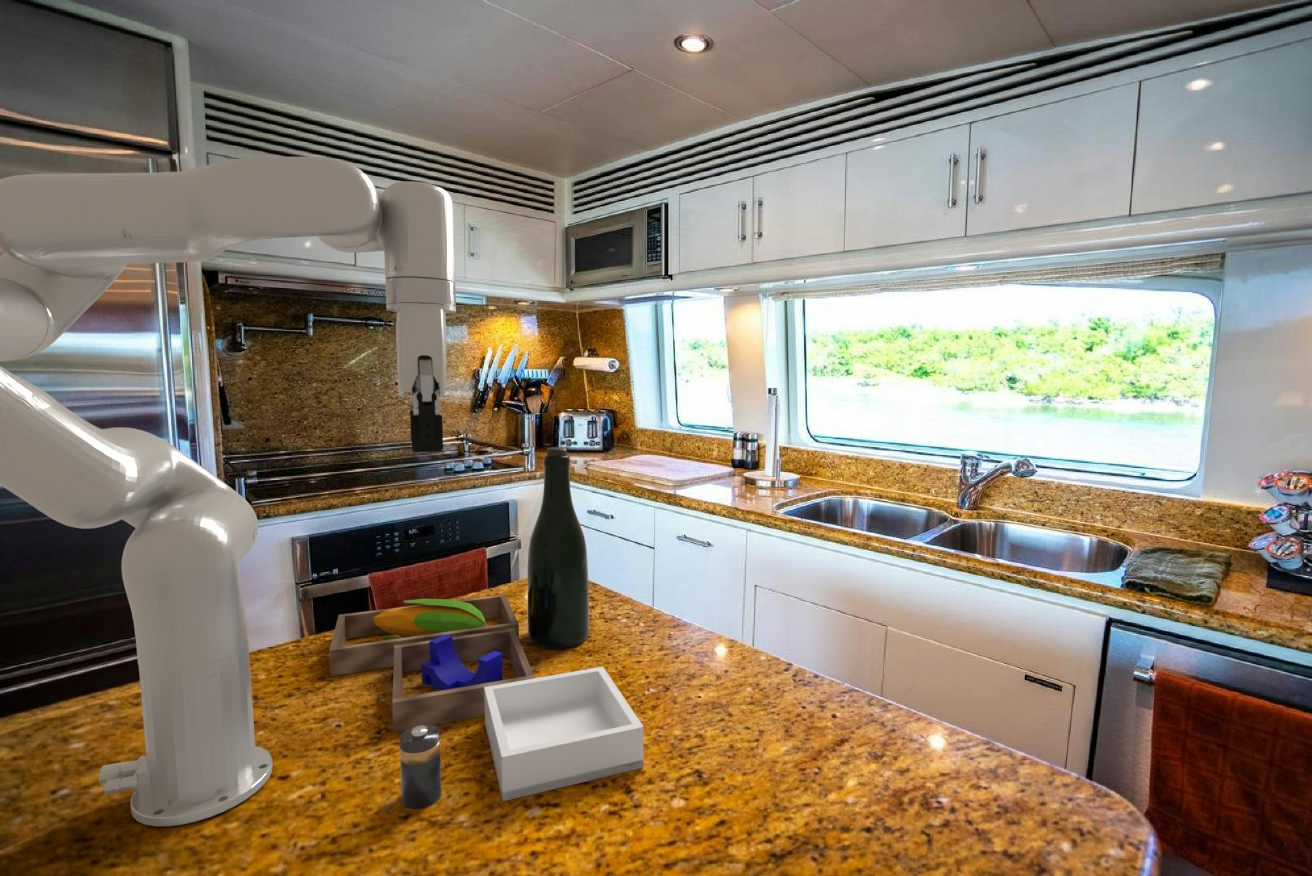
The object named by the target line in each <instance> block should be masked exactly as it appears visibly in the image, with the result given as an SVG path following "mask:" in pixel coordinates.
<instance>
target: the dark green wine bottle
mask: <svg viewBox="0 0 1312 876" xmlns="http://www.w3.org/2000/svg"><path fill="white" fill-rule="evenodd" d="M545 452H546V454H545V455H544V456H543V461H542V463H543V493H542V494H543V495H542V500H541V501H542V502H541V505H540V510H539V512H538V516H537V518H536V519H537V520H536V521H535V525H534V527H533V530H532V532H531V535H530V537H529V544H528V551H527V583H526V584H527V595H526V596H527V599H526V600H527V601H526V602H527V604H526V605H527V606H526V607H527V613H526V614H527V615H526V617H527V618H526V619H527V620H526V623H527V637H528V639H529V641H530V642H531V643H532V644H533V645H536V646H538V647H540V648H544V649H551V650H552V649H553V650H554V649H566V648H569V647H573V646H577V645H578V644H581V643H583V642H585V640H586V639H587V638H588V636H589V634H590V604H589V603H590V602H589V594H590V593H589V568H588V566H589V565H588V564H589V563H588V562H589V561H588V549H587V543H586V538H585V534H584V531H583V529H582V527H581V524H580V521H579V519H578V518H579V517H578V516H577V513H576V511H575V507H574V503H573V500H572V498H573V497H572V494H571V493H572V492H571V480H570V479H571V477H570V475H571V473H570V465H571V459H570V456H569V455H568V453H567V452H568V451H567V448H566V447H560V446H559V447H558V446H555V447H554V446H553V447H548V448H546V451H545Z"/></svg>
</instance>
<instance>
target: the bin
mask: <svg viewBox="0 0 1312 876" xmlns="http://www.w3.org/2000/svg"><path fill="white" fill-rule="evenodd" d="M484 704H485V716H484V725H485V729H486V735H487V739H488V742H489V743H488V744H489V747H490V751H491V756H492V760H493V765H494V769H495V774H496V777H497V783H498V788H499V790H500V796H501V799H502V802H506V801H510V800H515V799H517V798H518V799H519V798H523V797H527V796H531V795H535V794H536V795H537V794H539V793H545V792H548V791H552V790H556V789H560V788H564V787H568V786H572V785H576V784H580V783H581V784H582V783H585V782H589V781H594V780H598V779H602V778H606V777H609V776H615V775H618V774H622V773H627V772H632V771H635V770H640V769H643V768H644V738H645V737H644V732H645V731H644V729H645V728H644V725H643V724H642V722H641V721H640V720H639V718H638V716H637V715H636V714H635V712H634V711H633V709H632V707H631V706H630V705H629V703H628V702H627V700H626V699H625V697H624V696H623V694H622V693H621V691H620V689H619V688H618V687H617V686H616V684H615V682H614V681H613V679H612V677H610V675H609V673H608V672H607V670H606V669H605V667H604V666H599V667H598V666H597V667H593V668H588V669H581V670H575V671H569V672H564V673H563V672H562V673H559V674H554V675H545V676H542V677H541V676H540V677H537V678H536V677H535V678H534V679H529V680H523V681H517V682H511V683H505V684H500V685H494V686H488V687H484Z"/></svg>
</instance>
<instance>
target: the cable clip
mask: <svg viewBox="0 0 1312 876" xmlns="http://www.w3.org/2000/svg"><path fill="white" fill-rule="evenodd" d="M429 648H430V661H428V662H426V663H424V664H422V665H421V668H422V669H421V683H422V684H424V685H426V686H428V687H431V688H434V689H436V690H437V691H443V690H449V689H455V688H461V687H467V686H472V685H478V684H484V683H490V682H496V681H502V680H504V679H503V675H504V674H503V673H504V672H503V657H502V653H500V652H497V651H493V652H491V653H489V654H487V655H485V656H483V657H481V658H479V660H478V665H477V669H476V672H473V671H471V670H470V669H468V668H467V667H466V666H465V665H464V663H461V661H460V660H459V658H458V656H457V654H456V652H455V649H454V645H453V638H452V636H449V635H446V634H445V635H443V636H440V637H438V638H436V639H433V640H431V641H429Z"/></svg>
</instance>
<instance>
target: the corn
mask: <svg viewBox="0 0 1312 876" xmlns="http://www.w3.org/2000/svg"><path fill="white" fill-rule="evenodd" d="M403 603H404V604H417V605H418V606H415V605H409V606H410V607H407V606H401V607H402V608H399V607H395V608H396V609H391V610H386V611H384V612H382V613H380V614H379V615H377V616H376V617H374V618H373V621H374V624H375V625H377V626H378V627H380V628H382V629H383V630H385V631H387V632H389V633H388V634H391V635H396V636H389V635H388V636H387V635H386V636H384V635H383V636H382V637H380V640H381V641H384V640H391V639H398V638H406V637H413V636H420V635H427V634H434V633H442V632H449V631H456V630H463V629H471V628H478V627H485V626H487V624H486V621H487V620H485V619H484V617H483V615H482V613H481V612H480V611H479V610H478V609H477V608H475V607H474V606H473V605H471V604H469V603H465V602H460V601H456V599H445V598H444V599H443V598H442V599H441V598H420V599H419V598H418V599H407V600H403ZM423 604H432V605H423Z"/></svg>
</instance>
